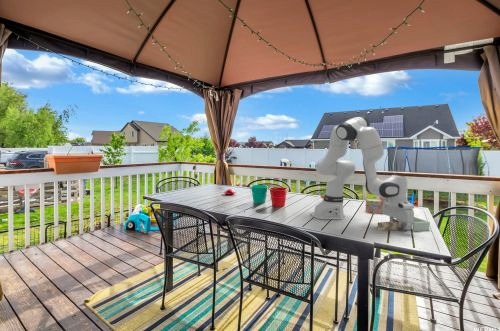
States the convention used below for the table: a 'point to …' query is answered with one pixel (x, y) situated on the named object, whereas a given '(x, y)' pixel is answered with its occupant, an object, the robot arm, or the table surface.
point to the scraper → (391, 226)
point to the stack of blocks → (375, 205)
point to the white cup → (408, 226)
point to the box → (420, 224)
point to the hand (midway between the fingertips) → (395, 225)
